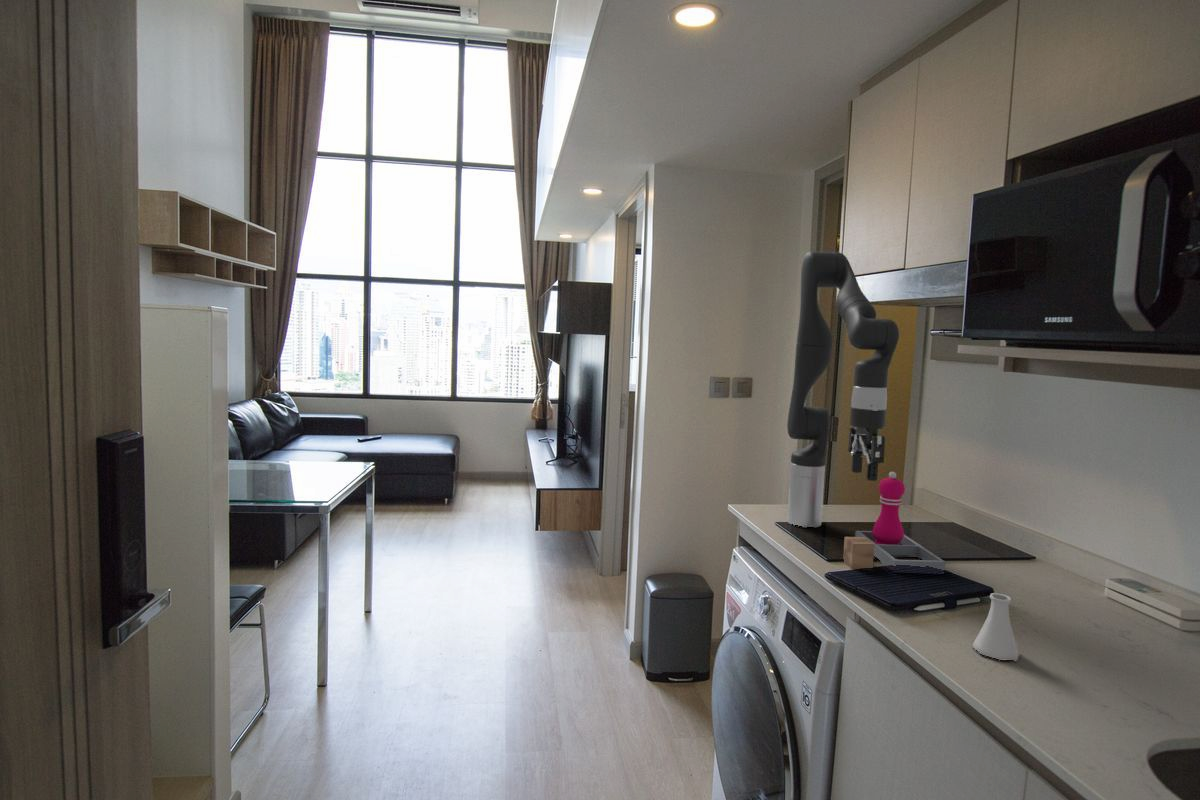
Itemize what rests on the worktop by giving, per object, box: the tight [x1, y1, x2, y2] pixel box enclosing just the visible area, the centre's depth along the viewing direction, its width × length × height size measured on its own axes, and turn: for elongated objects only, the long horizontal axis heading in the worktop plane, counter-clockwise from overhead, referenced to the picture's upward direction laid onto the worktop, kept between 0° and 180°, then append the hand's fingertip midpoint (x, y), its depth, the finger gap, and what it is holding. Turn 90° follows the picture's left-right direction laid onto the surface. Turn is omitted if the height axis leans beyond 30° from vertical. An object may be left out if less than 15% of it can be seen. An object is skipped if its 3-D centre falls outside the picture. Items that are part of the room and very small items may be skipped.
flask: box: [971, 592, 1020, 661], centre depth 115 cm, size 7×7×10 cm
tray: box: [854, 530, 946, 571], centre depth 163 cm, size 22×12×3 cm, turn 1°
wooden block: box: [842, 536, 875, 570], centre depth 157 cm, size 5×5×6 cm
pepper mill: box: [872, 471, 906, 545], centre depth 167 cm, size 7×7×20 cm
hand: (863, 476), depth 155 cm, fingers open, 8 cm apart
